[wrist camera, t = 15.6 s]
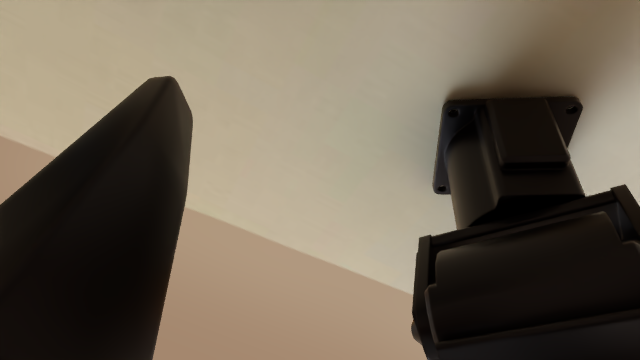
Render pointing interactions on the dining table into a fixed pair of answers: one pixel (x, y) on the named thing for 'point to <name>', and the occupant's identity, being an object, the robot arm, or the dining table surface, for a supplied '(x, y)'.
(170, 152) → the robot arm
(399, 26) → the dining table surface
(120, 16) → the dining table surface
